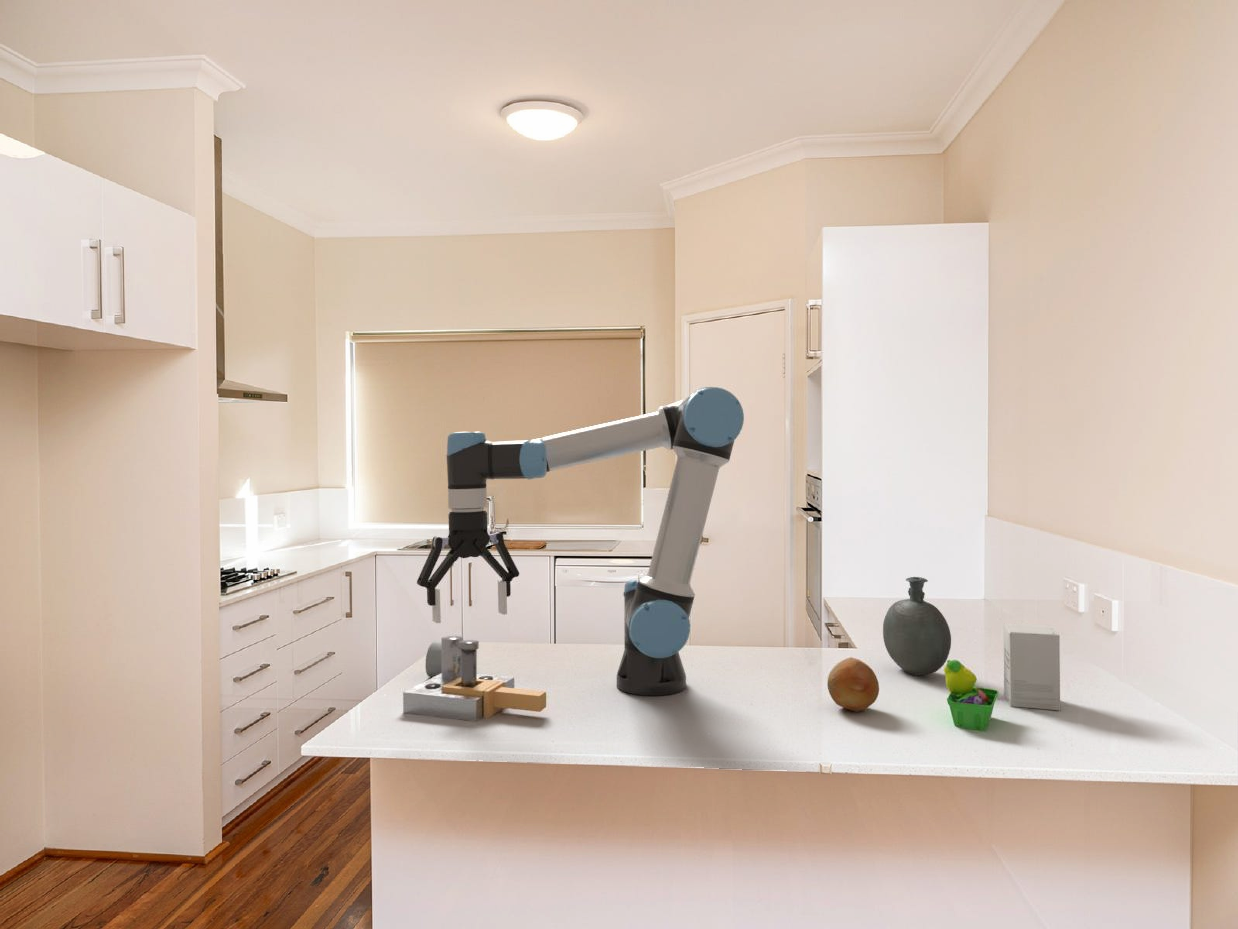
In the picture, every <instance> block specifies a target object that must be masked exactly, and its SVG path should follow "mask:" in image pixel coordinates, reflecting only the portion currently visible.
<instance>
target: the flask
mask: <svg viewBox="0 0 1238 929" xmlns="http://www.w3.org/2000/svg"><path fill="white" fill-rule="evenodd" d="M905 581H906V582H909V583H908V584H909V587H908V591H907V593H908V596H909V598H907V599H899V600H898V601H895V602H894V603H892V605H890V606H889V608H888V610H887V612H886V614H885V616H884V619H883V622H882V623H883V625H882V636H883V637H882V638H883V643H884V646H885V649H886V651H887V653H888V655H889V657H890V658H891V659H892V660H893V662H894V663H895V664H896V665H897V666H898V667H899V668H901V669H902V670H903V671H904V672H907V673H909V674H911V675H914V676H928V675H931V674H934V673H936V672H938V671H939V670H940V669H942V667H943V666H945V665H946V663H947V661H948V658H949V654H950V650H951V648H952V634H951V629H950V626H949V624H948V621H947V619H946V617H945V616H944V615H943V613H942V612H941V611H940V610H939V609H938V607H936V606H935V605H934V604H932V603H929V602H927V601H925V600H924V599H925V595H926V594H925V592H924V590H923V588H924V586H925V583H928V582H929V580H928V579H926V578H924V577H920V576H913V577H912V576H910V577H908V578H905Z"/></svg>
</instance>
